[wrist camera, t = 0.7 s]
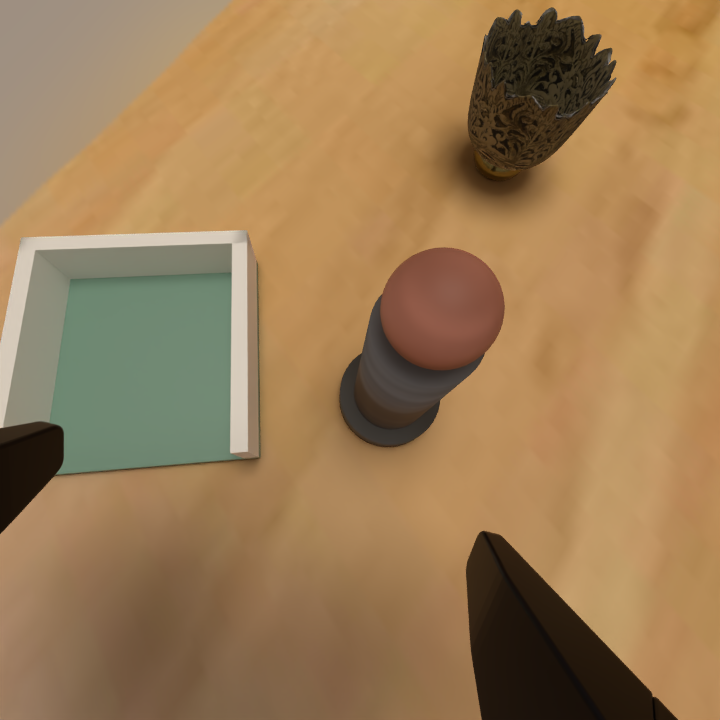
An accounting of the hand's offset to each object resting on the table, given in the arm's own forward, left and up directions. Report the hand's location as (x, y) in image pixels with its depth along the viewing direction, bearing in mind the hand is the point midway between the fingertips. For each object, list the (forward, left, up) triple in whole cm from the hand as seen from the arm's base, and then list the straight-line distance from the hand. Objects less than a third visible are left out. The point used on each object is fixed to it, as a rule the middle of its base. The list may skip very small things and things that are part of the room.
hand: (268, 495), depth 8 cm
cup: (+26, +3, -14) cm, 30 cm away
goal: (+1, +11, -14) cm, 18 cm away
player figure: (+7, -1, -14) cm, 15 cm away
